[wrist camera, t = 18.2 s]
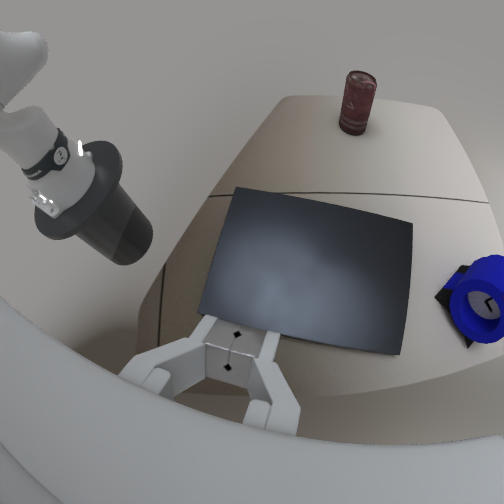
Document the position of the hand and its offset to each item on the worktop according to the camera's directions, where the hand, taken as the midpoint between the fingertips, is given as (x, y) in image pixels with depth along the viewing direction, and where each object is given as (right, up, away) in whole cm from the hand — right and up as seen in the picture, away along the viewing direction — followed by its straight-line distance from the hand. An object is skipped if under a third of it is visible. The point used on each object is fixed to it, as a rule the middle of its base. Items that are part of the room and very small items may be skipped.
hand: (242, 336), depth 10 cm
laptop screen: (+10, +1, +29) cm, 30 cm away
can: (+23, +31, +43) cm, 57 cm away
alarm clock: (+39, -6, +26) cm, 47 cm away
